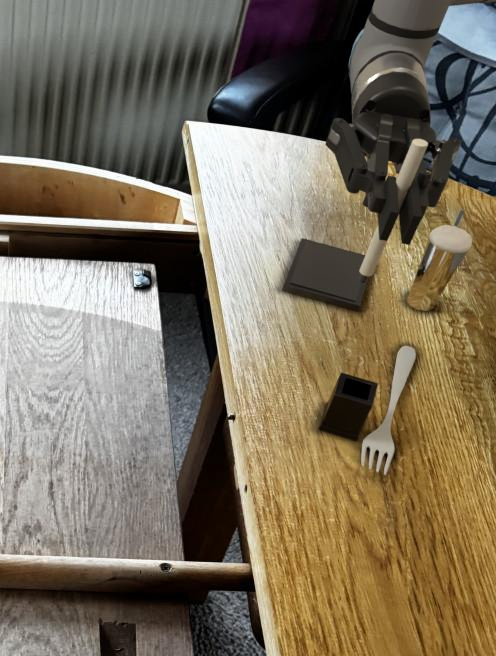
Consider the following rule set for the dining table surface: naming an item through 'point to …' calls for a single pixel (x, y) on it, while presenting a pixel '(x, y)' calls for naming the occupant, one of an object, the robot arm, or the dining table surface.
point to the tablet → (326, 275)
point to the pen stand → (348, 406)
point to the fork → (389, 412)
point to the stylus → (403, 186)
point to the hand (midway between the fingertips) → (400, 228)
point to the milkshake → (438, 264)
